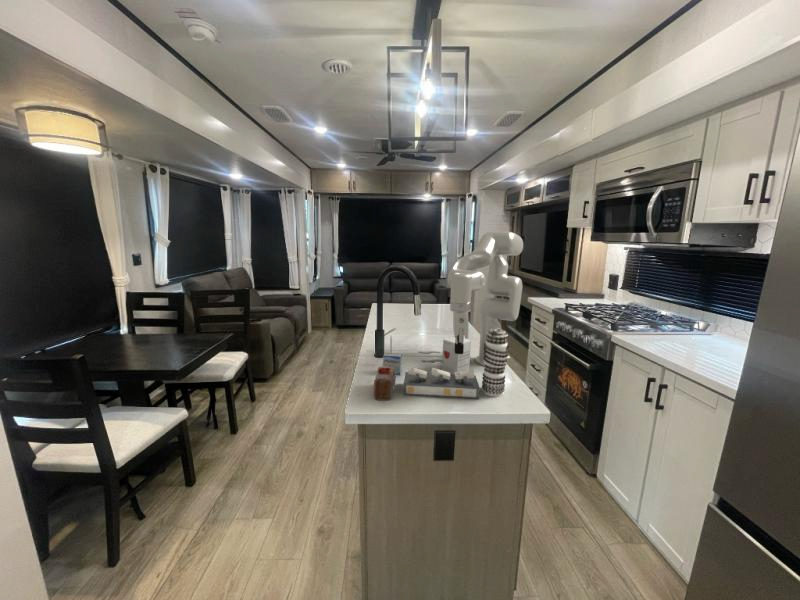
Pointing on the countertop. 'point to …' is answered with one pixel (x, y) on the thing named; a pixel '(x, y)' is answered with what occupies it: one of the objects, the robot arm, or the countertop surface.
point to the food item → (384, 383)
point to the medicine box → (393, 362)
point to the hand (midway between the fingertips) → (458, 353)
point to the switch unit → (441, 386)
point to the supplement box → (455, 356)
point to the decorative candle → (494, 362)
